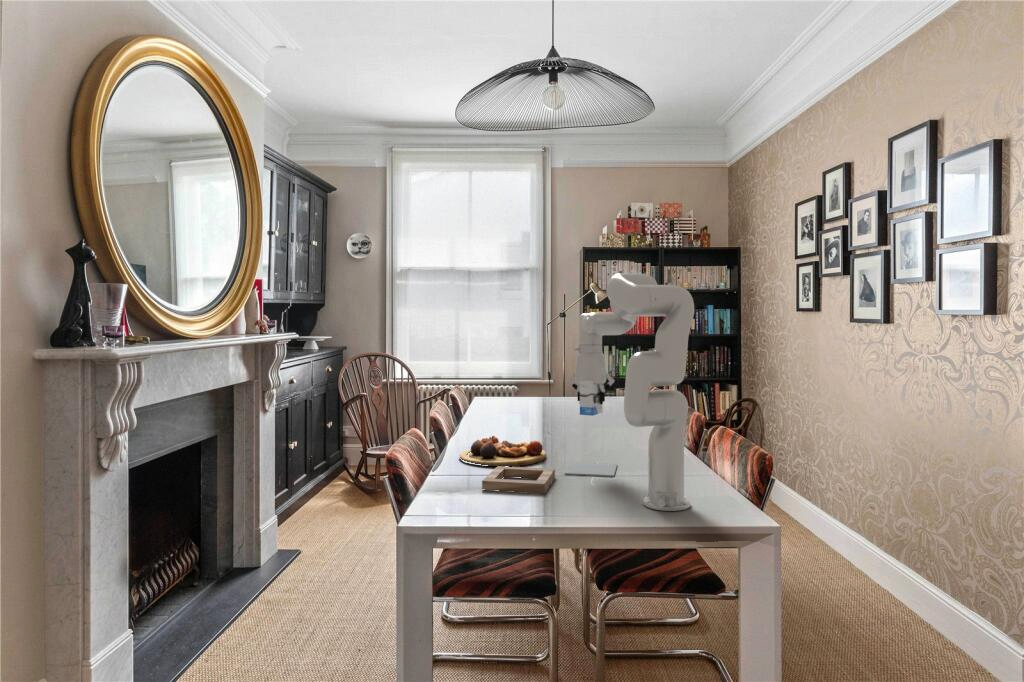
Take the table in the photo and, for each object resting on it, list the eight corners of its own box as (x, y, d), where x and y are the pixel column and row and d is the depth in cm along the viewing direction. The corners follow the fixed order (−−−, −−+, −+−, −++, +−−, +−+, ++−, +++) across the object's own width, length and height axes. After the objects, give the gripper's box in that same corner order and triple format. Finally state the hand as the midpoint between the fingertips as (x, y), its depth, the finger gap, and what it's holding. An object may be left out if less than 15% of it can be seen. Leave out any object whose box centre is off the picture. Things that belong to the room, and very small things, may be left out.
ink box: (592, 416, 210) (592, 380, 209) (579, 415, 212) (578, 379, 212) (603, 412, 217) (603, 378, 216) (589, 411, 219) (589, 377, 219)
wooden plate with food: (562, 456, 239) (562, 434, 239) (512, 472, 213) (512, 447, 213) (494, 448, 258) (494, 427, 258) (441, 462, 232) (440, 439, 232)
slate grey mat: (613, 477, 206) (614, 475, 206) (564, 474, 209) (564, 473, 209) (617, 465, 221) (617, 463, 221) (571, 463, 225) (571, 462, 225)
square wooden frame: (544, 494, 187) (544, 483, 187) (482, 490, 191) (482, 480, 191) (554, 477, 205) (554, 468, 205) (497, 475, 210) (497, 466, 209)
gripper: (563, 350, 212) (564, 404, 213) (616, 350, 208) (616, 405, 209) (566, 349, 219) (567, 401, 220) (617, 349, 215) (617, 402, 216)
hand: (591, 403), depth 214 cm, fingers closed on ink box, 6 cm apart
